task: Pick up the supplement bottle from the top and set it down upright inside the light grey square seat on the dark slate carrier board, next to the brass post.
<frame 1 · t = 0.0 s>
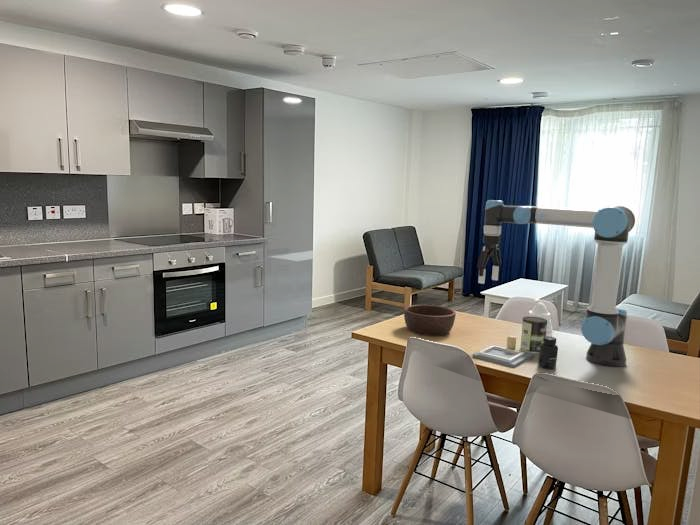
hand: (488, 281, 240), 28 cm above the table, tool pointing down, fingers open, 13 cm apart
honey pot: (537, 336, 257), on the table
supplement bottle: (546, 367, 212), on the table
coffee can: (532, 350, 234), on the table
wooden bowl: (428, 331, 259), on the table
carrier board: (503, 356, 222), on the table
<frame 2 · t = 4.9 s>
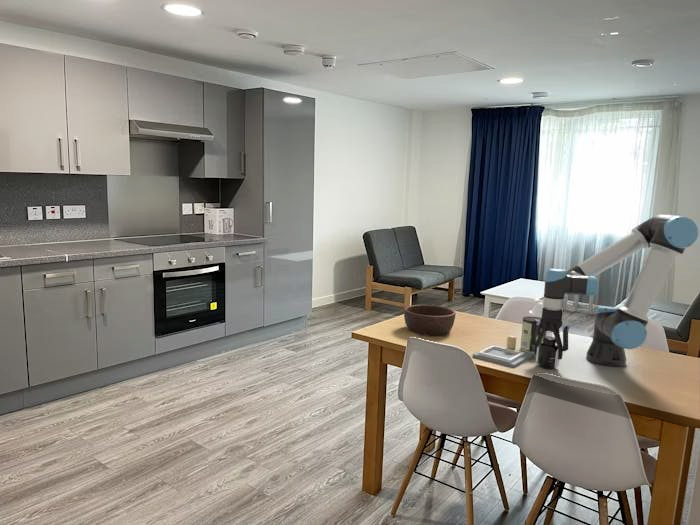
hand: (547, 364, 212), 1 cm above the table, tool pointing down, fingers closed on supplement bottle, 7 cm apart
supplement bottle: (546, 367, 212), on the table, touching gripper
everything else where it was.
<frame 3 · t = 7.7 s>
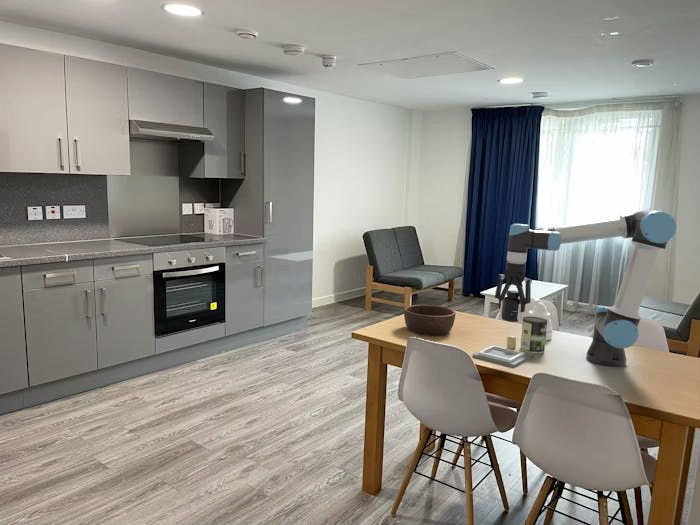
hand: (510, 317, 217), 18 cm above the table, tool pointing down, fingers closed on supplement bottle, 7 cm apart
supplement bottle: (510, 320, 217), point 16 cm above the table, touching gripper
everything else where it was.
when the fingers open (4 cm above the table, at t = 10.8 s): supplement bottle drops 2 cm, resting on carrier board.
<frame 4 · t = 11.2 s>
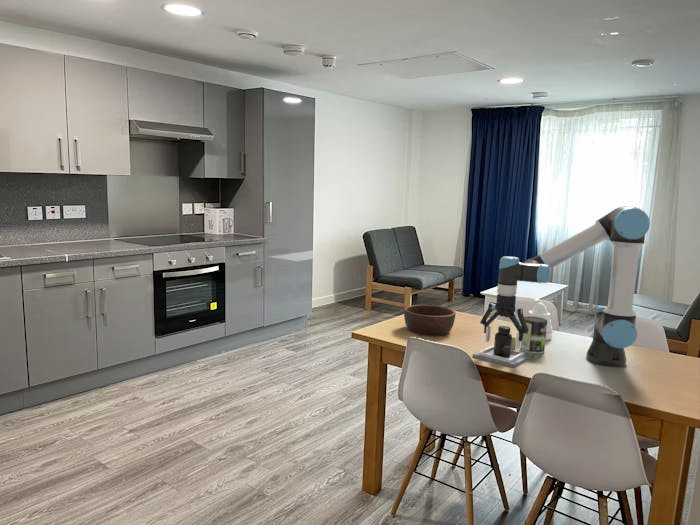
hand: (502, 344, 220), 6 cm above the table, tool pointing down, fingers open, 13 cm apart
supplement bottle: (501, 355, 221), point 1 cm above the table, touching carrier board
everything else where it was.
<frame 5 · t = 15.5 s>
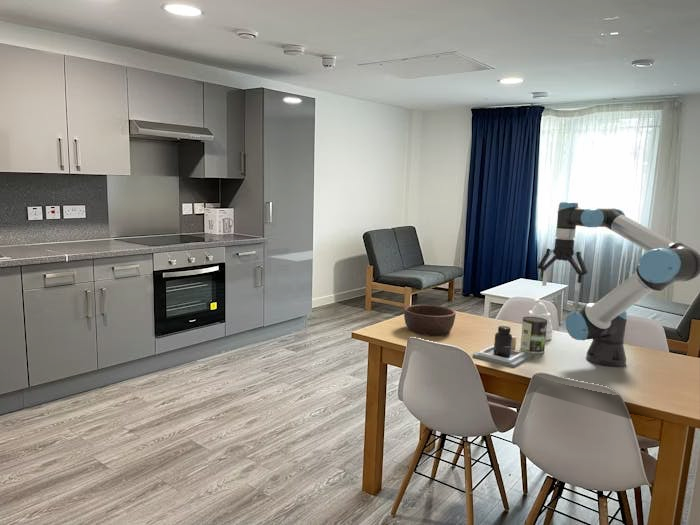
hand: (560, 287, 228), 29 cm above the table, tool pointing down, fingers open, 13 cm apart
nothing on the table moved.
at the end: supplement bottle inside the target area on the carrier board (0.2 cm from its centre), point 1.0 cm above the carrier board's base; supplement bottle tilted 0°; the gripper is holding nothing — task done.
